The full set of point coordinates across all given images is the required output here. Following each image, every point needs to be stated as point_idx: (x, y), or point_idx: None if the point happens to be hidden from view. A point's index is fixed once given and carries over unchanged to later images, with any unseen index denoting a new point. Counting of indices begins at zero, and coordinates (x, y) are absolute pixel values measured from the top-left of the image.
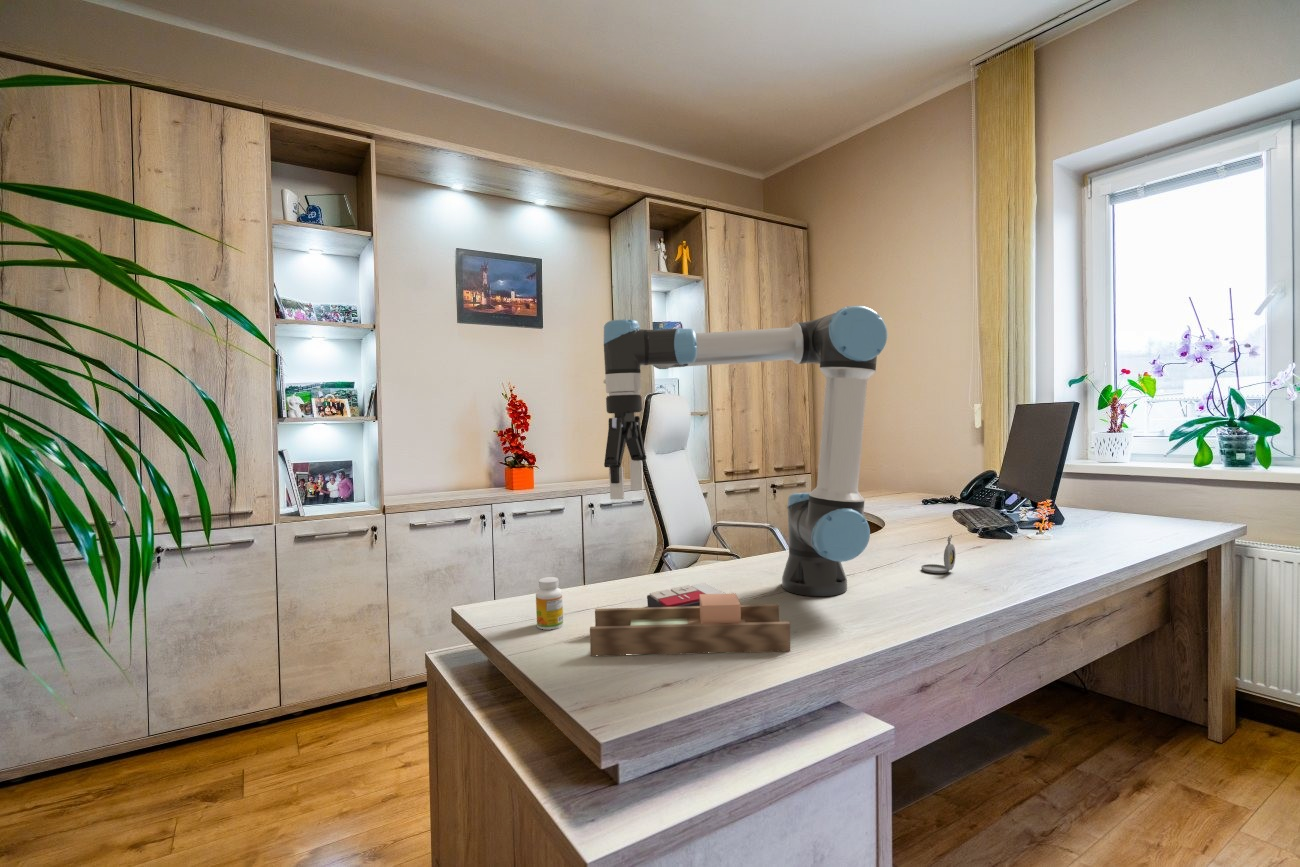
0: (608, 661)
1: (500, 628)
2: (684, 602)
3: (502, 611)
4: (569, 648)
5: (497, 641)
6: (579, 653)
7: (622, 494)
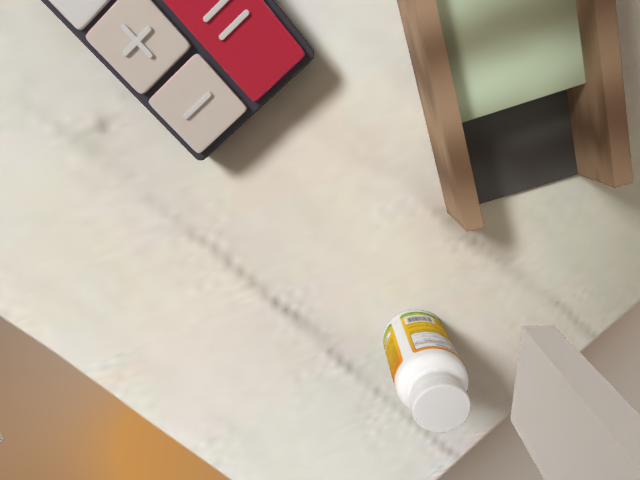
0: None
1: None
2: (265, 2)
3: (340, 469)
4: (546, 234)
5: None
6: (574, 200)
7: (577, 351)
